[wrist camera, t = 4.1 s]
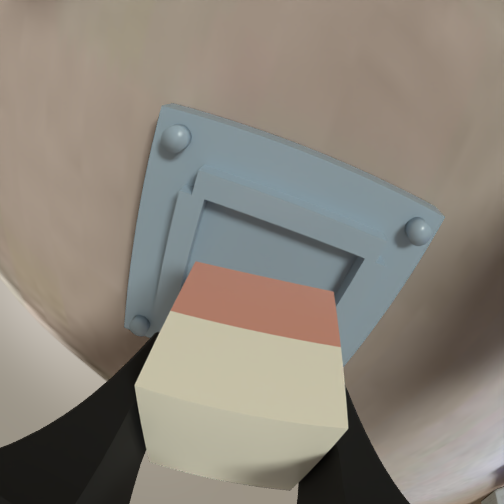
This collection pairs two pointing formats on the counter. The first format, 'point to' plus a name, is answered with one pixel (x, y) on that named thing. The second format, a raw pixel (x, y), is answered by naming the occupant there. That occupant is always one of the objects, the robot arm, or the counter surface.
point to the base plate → (269, 222)
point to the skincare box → (495, 497)
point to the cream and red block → (244, 380)
